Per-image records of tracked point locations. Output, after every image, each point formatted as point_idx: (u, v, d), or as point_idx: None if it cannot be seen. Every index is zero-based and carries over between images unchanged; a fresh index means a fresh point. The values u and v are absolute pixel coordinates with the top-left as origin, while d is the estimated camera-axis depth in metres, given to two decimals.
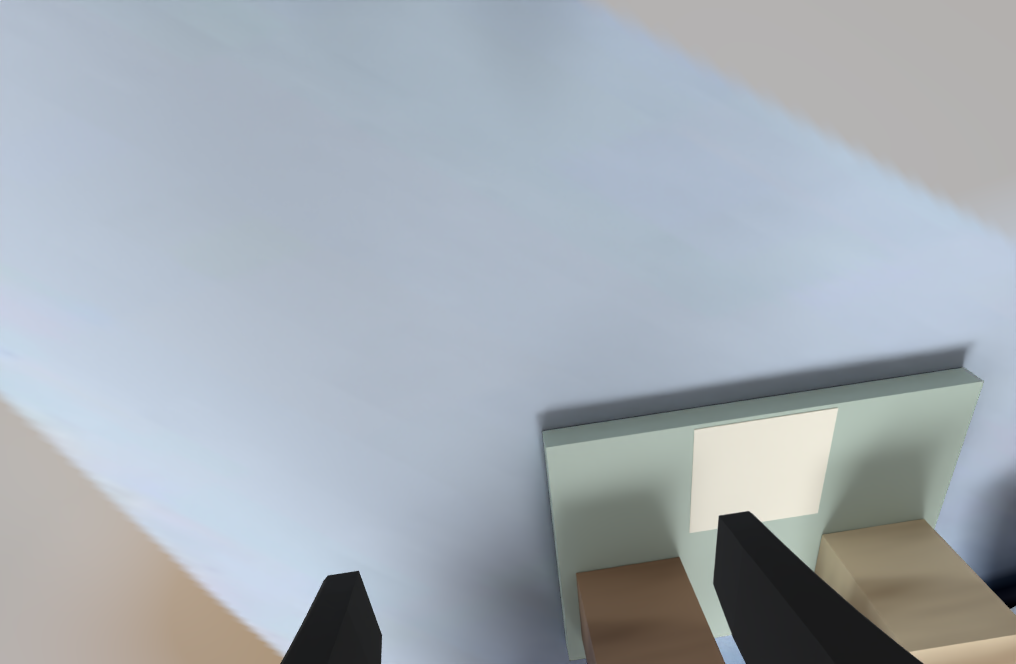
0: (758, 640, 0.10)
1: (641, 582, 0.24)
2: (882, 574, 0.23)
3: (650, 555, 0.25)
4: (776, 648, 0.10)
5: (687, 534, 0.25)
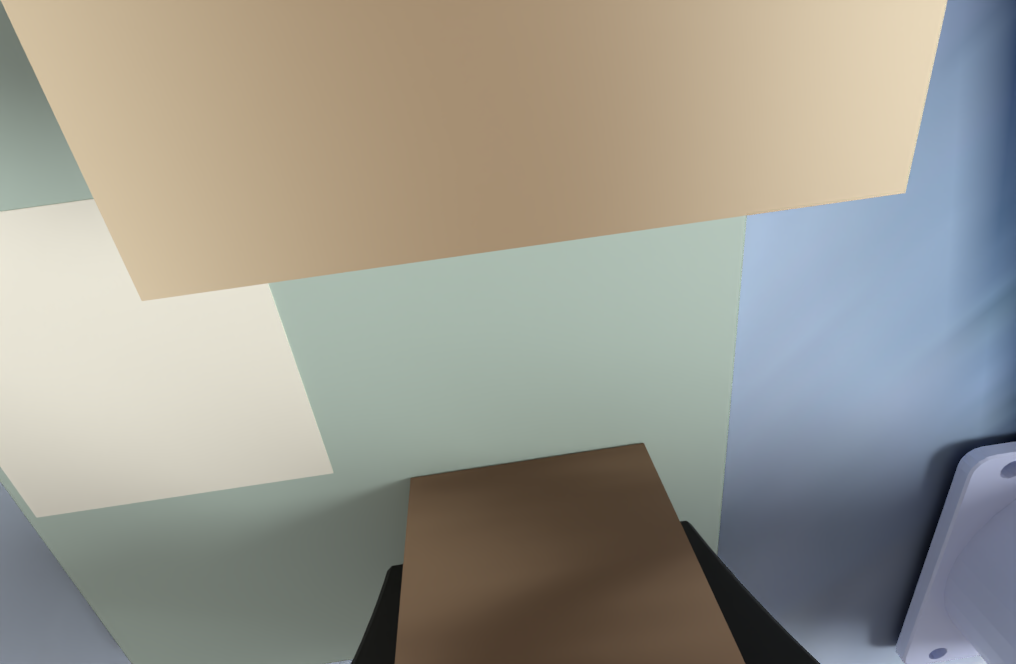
0: None
1: None
2: None
3: (405, 526, 0.12)
4: None
5: (340, 474, 0.11)
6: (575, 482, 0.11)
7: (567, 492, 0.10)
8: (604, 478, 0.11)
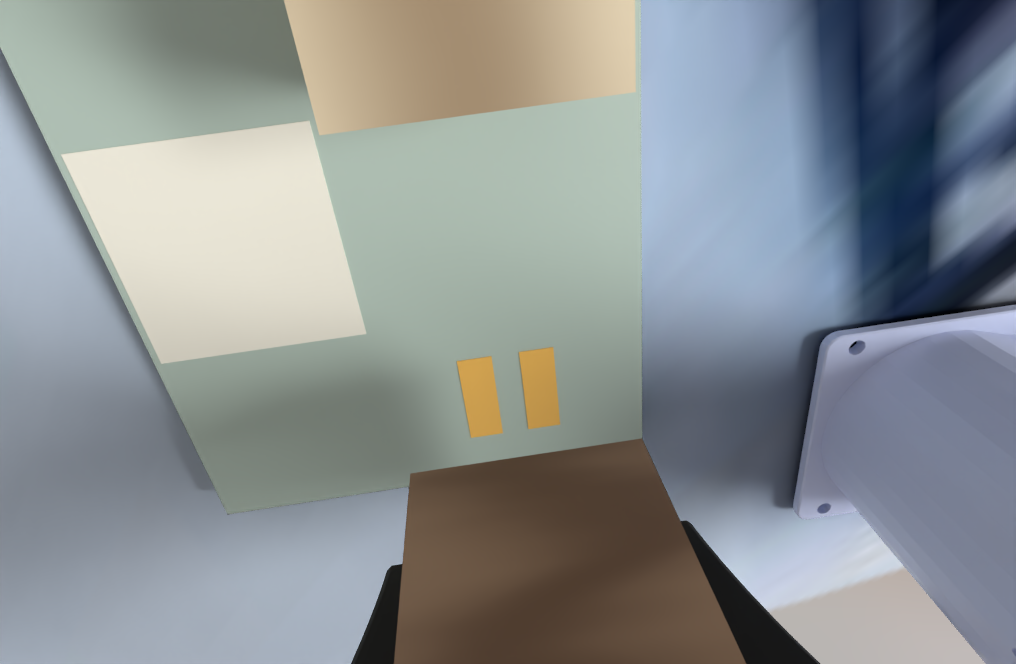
0: None
1: None
2: None
3: (415, 378, 0.17)
4: None
5: (370, 334, 0.16)
6: (574, 477, 0.11)
7: (566, 487, 0.10)
8: (602, 473, 0.11)
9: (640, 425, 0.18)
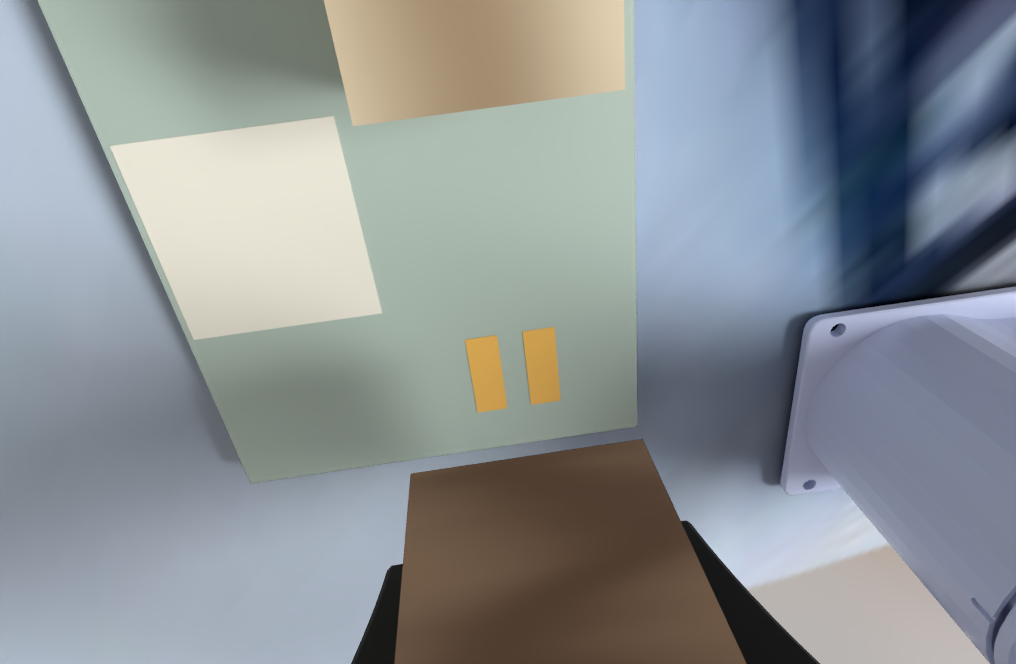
0: None
1: None
2: None
3: (426, 355, 0.18)
4: None
5: (386, 314, 0.17)
6: (574, 477, 0.11)
7: (566, 487, 0.10)
8: (603, 473, 0.11)
9: (635, 402, 0.20)
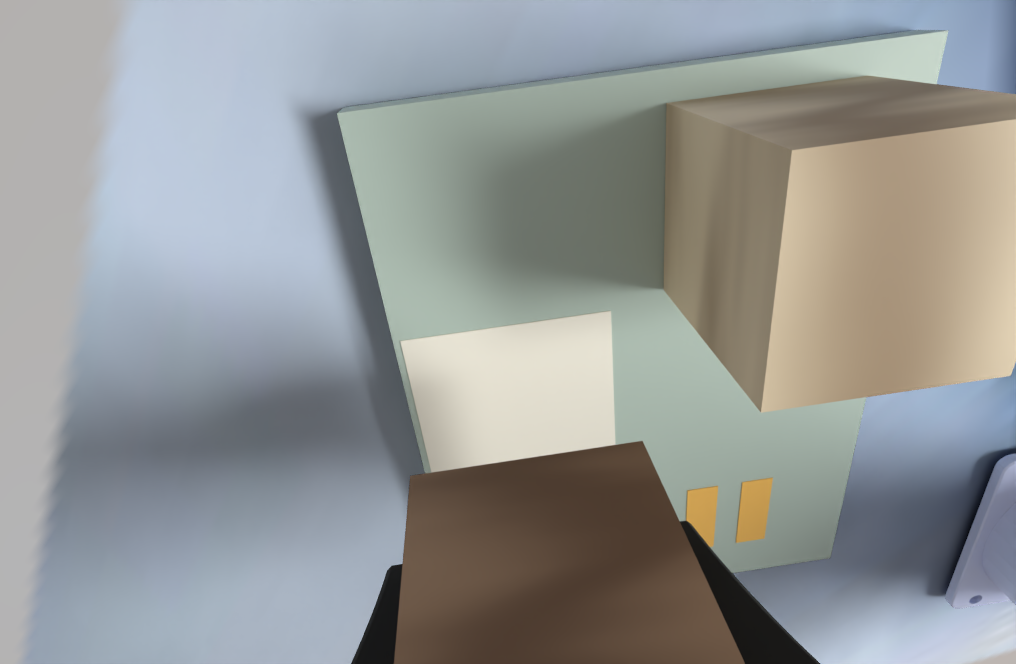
0: None
1: None
2: (698, 284, 0.12)
3: None
4: None
5: None
6: (574, 480, 0.11)
7: (566, 489, 0.10)
8: (603, 476, 0.11)
9: (833, 537, 0.20)
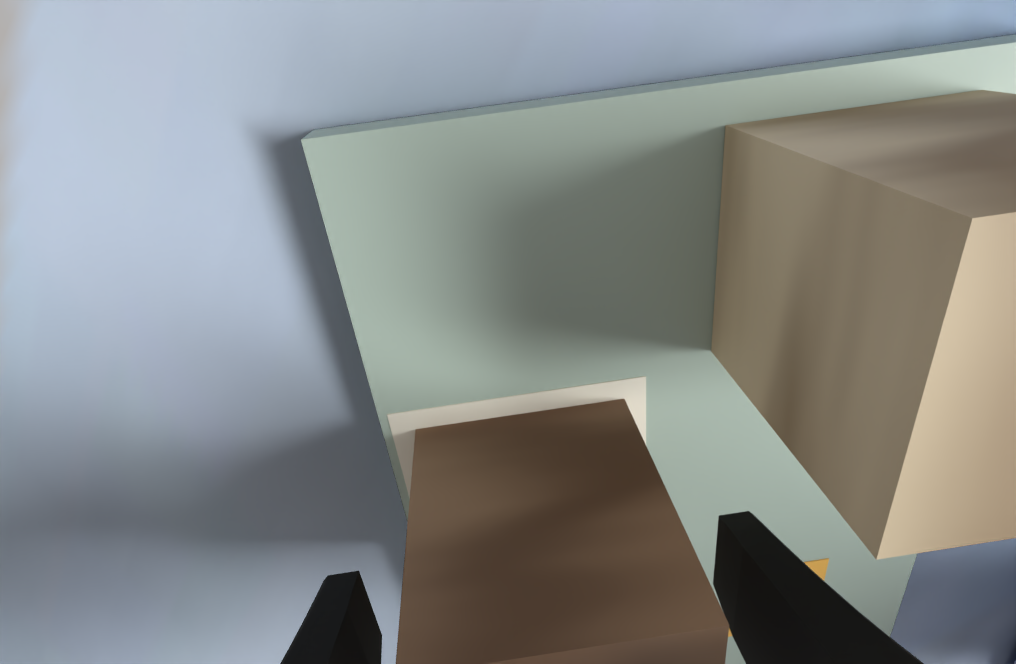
0: (758, 640, 0.10)
1: None
2: (769, 360, 0.10)
3: None
4: (776, 648, 0.10)
5: None
6: (562, 431, 0.12)
7: (555, 439, 0.12)
8: (588, 427, 0.12)
9: (893, 620, 0.18)
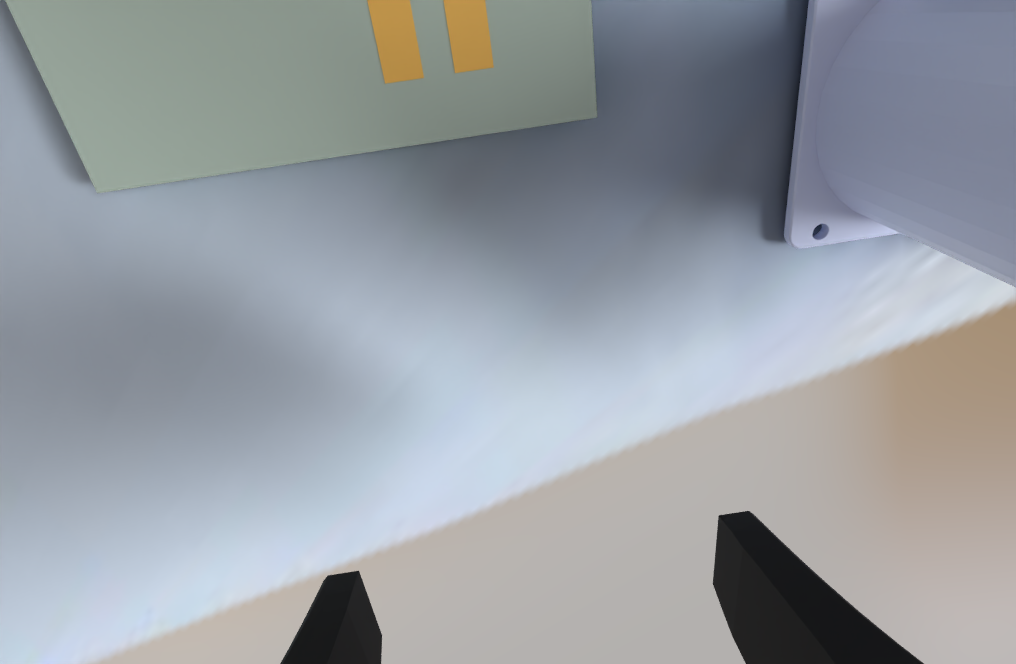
0: (758, 640, 0.10)
1: None
2: None
3: None
4: (776, 648, 0.10)
5: None
6: None
7: None
8: None
9: (592, 75, 0.15)
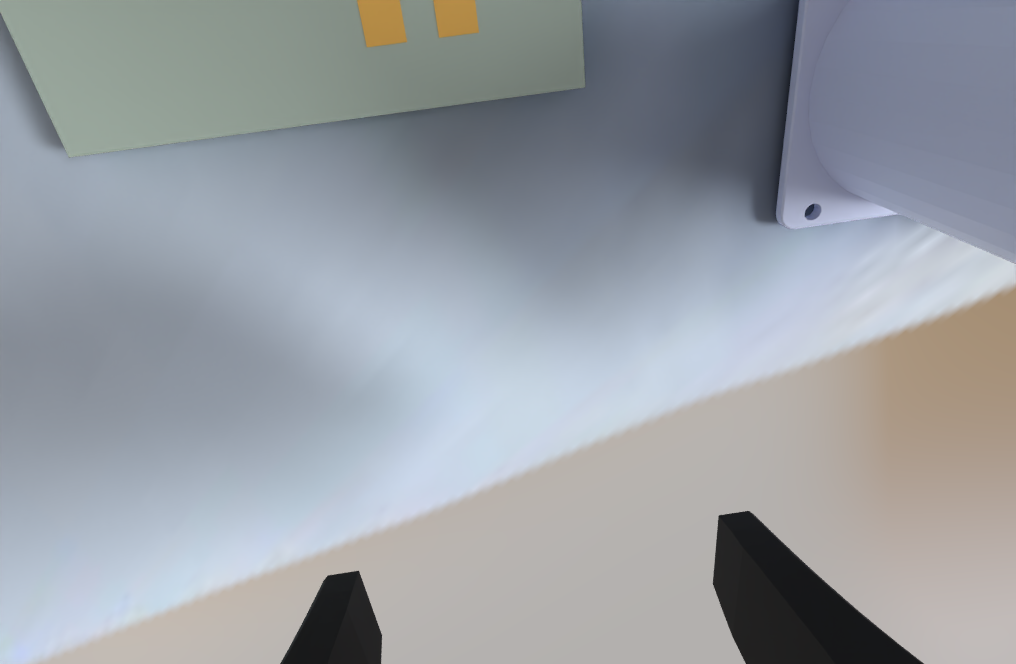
0: (758, 640, 0.10)
1: None
2: None
3: None
4: (776, 648, 0.10)
5: None
6: None
7: None
8: None
9: (581, 43, 0.15)
